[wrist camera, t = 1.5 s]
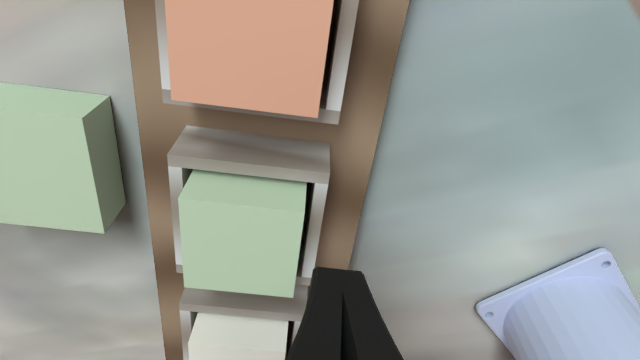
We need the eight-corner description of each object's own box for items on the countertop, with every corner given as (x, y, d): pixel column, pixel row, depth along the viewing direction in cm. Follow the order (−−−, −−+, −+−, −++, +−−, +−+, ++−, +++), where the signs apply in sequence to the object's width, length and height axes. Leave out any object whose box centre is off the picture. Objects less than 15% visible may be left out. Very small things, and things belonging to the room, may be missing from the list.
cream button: (283, 352, 24) (278, 405, 21) (206, 345, 23) (191, 397, 21) (290, 300, 21) (285, 352, 19) (204, 292, 21) (188, 343, 18)
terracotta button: (318, 84, 15) (317, 118, 13) (197, 69, 15) (171, 99, 12) (337, -53, 13) (339, -45, 10) (193, -74, 12) (159, -72, 10)
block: (125, 203, 22) (104, 233, 20) (8, 190, 21) (-27, 220, 19) (109, 95, 19) (81, 118, 16) (-30, 78, 18) (-76, 99, 16)
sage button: (297, 248, 19) (293, 298, 17) (202, 238, 19) (184, 287, 17) (307, 168, 17) (304, 212, 14) (200, 155, 17) (177, 198, 14)
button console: (323, 351, 28) (323, 418, 24) (176, 338, 28) (152, 404, 24) (437, -178, 13) (481, -216, 10) (124, -231, 13) (39, -294, 9)
